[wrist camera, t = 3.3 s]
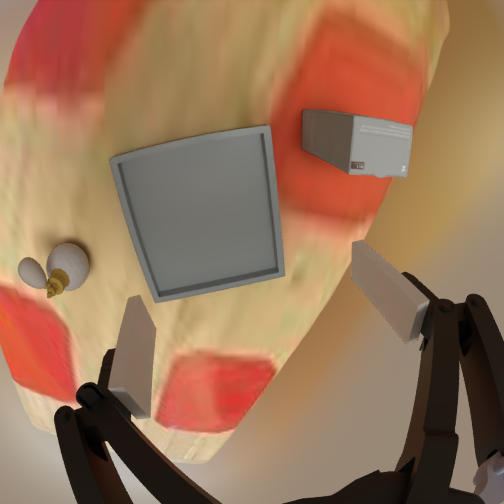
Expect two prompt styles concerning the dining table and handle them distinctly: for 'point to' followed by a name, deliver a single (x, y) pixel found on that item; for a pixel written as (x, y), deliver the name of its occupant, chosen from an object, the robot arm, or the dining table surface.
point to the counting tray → (203, 211)
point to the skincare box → (358, 142)
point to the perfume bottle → (57, 270)
